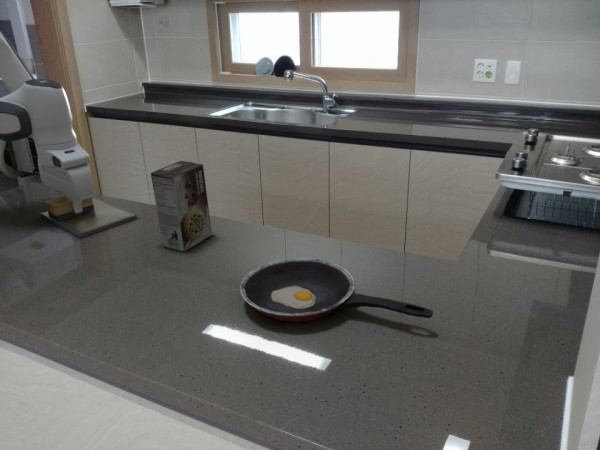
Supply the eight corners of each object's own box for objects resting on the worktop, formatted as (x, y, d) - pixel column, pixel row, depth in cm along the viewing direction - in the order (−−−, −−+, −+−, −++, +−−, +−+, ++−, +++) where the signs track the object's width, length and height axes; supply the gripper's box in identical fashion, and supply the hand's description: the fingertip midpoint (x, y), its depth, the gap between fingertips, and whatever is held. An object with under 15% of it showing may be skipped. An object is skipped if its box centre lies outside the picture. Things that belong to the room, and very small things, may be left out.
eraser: (49, 217, 127) (45, 201, 125) (85, 205, 132) (81, 190, 131) (58, 222, 123) (54, 205, 122) (94, 210, 129) (91, 194, 128)
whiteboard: (41, 217, 130) (40, 212, 129) (95, 200, 139) (94, 196, 139) (80, 238, 117) (79, 233, 117) (136, 218, 126) (136, 214, 126)
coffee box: (190, 230, 119) (181, 159, 112) (213, 235, 116) (204, 163, 109) (160, 246, 112) (149, 172, 105) (184, 252, 108) (173, 176, 102)
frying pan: (278, 265, 101) (277, 247, 100) (447, 303, 87) (449, 282, 85) (218, 314, 86) (216, 294, 85) (411, 370, 72) (412, 347, 70)
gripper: (26, 149, 127) (39, 203, 132) (65, 163, 114) (78, 223, 119) (52, 143, 131) (64, 196, 136) (93, 156, 118) (105, 214, 123)
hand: (71, 209), depth 128 cm, fingers closed on eraser, 5 cm apart
